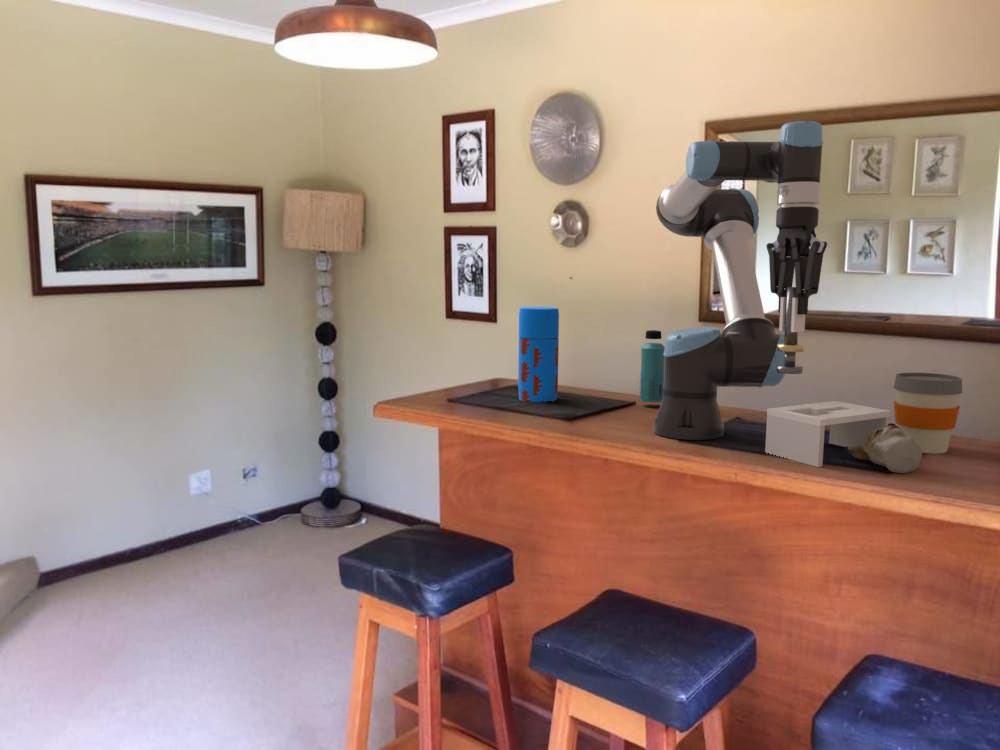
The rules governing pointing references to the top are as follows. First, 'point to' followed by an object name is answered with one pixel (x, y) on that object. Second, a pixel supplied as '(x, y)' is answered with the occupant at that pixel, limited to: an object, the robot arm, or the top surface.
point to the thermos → (538, 354)
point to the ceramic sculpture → (890, 449)
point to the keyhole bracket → (819, 428)
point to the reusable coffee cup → (927, 408)
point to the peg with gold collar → (790, 340)
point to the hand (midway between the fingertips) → (791, 331)
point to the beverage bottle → (652, 369)
